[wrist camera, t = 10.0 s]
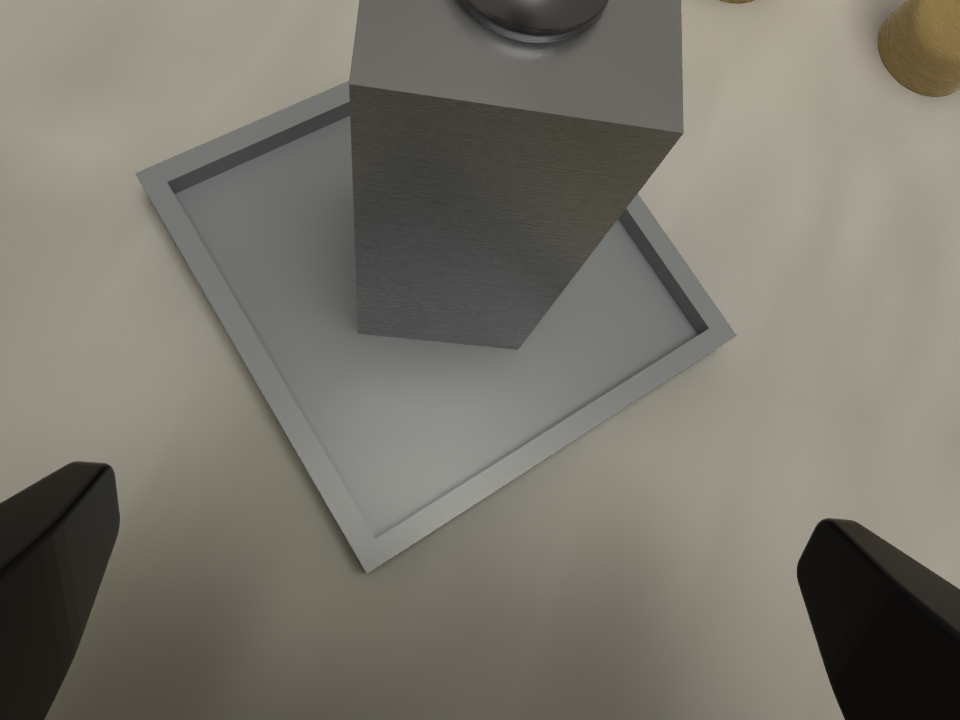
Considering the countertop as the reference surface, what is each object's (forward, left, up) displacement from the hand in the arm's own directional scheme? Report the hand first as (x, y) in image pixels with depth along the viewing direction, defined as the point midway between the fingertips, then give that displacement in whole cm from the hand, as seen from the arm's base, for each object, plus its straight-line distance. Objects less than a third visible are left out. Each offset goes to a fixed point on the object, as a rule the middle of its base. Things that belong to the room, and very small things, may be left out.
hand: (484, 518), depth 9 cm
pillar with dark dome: (+4, +6, -10) cm, 12 cm away
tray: (+4, +6, -10) cm, 13 cm away
